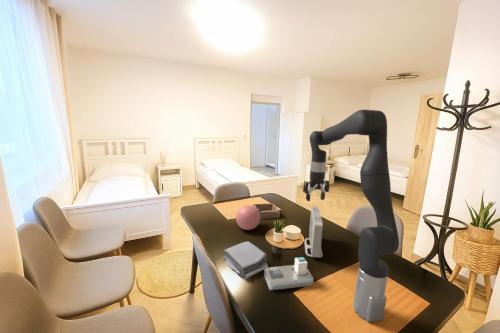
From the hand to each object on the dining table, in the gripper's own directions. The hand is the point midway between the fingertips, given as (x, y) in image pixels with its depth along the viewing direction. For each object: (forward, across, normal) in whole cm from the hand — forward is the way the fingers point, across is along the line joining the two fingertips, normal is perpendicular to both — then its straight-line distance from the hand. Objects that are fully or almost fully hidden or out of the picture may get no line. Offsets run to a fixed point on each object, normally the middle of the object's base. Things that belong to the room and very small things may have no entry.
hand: (315, 200), depth 119 cm
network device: (+28, +2, 0) cm, 28 cm away
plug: (+28, -19, -20) cm, 39 cm away
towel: (+29, -39, -4) cm, 49 cm away
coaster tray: (+27, -7, +51) cm, 58 cm away
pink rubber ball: (+28, -25, +32) cm, 50 cm away
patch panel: (+28, -24, -20) cm, 42 cm away
